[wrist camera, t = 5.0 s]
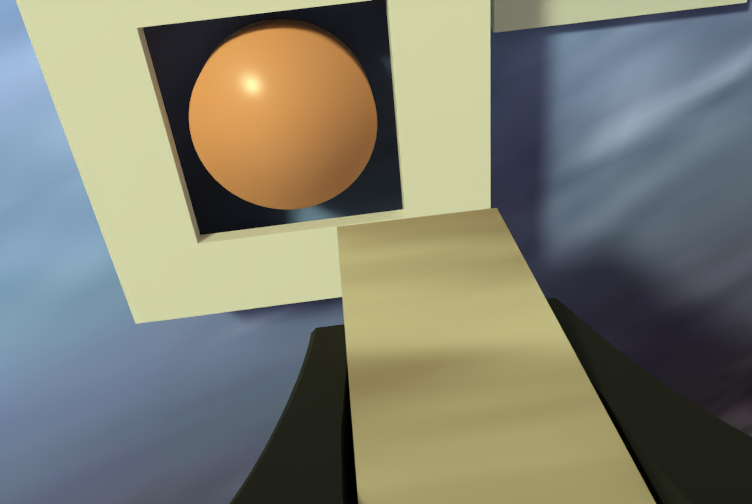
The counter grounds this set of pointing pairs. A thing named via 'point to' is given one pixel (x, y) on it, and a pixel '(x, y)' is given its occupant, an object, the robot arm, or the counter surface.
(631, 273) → the counter surface
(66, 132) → the cream square frame
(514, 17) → the rubber mat
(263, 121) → the button
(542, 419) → the wood grain block
